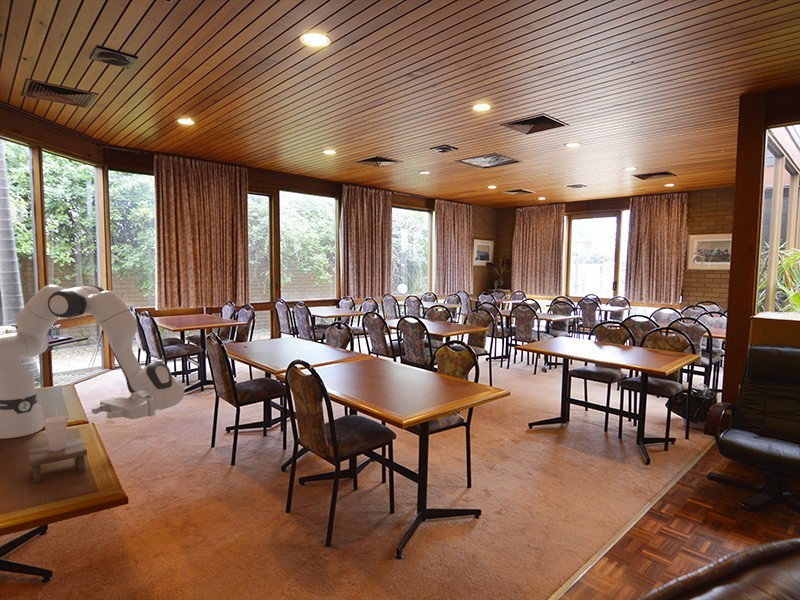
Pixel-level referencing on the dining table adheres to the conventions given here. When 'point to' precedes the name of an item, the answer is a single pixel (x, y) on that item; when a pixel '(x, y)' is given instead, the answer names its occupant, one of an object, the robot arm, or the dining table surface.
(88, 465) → the dining table surface
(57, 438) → the smoothie
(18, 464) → the dining table surface
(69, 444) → the stool
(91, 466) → the dining table surface
